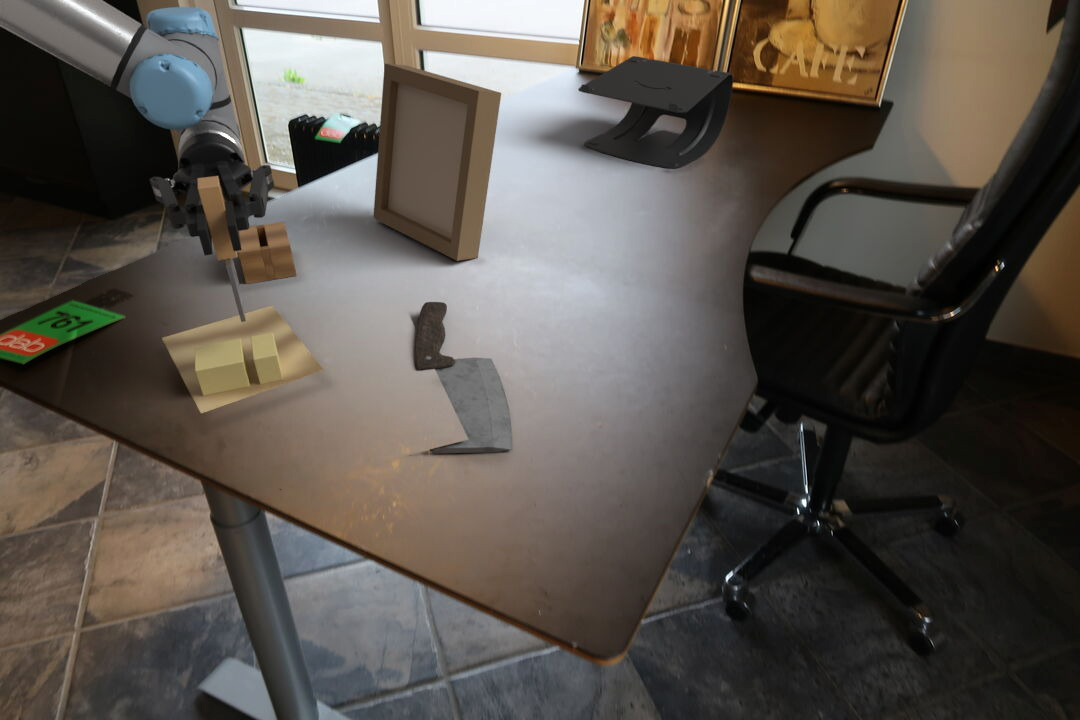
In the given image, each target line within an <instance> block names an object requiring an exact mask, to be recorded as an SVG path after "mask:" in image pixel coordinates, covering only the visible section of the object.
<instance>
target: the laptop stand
mask: <svg viewBox="0 0 1080 720" xmlns="http://www.w3.org/2000/svg"><path fill="white" fill-rule="evenodd" d="M733 86H734V75H733V73H731V72H727V71H720V70H714V71H713V69H710V68H704V67H699V66H692V65H688V64H687V65H686V64H681V63H675V62H671V61H664V60H659V59H654V58H653V59H652V58H650V59H649V58H646V57H641V56H636V55H633V56H630V57H629V58H626V59H625V60H624V61H622V62H620V63H619V64H617V65H615V66H614V67H612V68H610V69H609V70H607V71H605V72H604V73H602V74H600V75H598V76H596V77H595V78H593V79H592V80H590V81H588V82H587V83H584V84H581V86H579V88H578V92H581V93H584V94H589V95H593V96H599V97H603V98H609V99H613V100H617V101H621V102H626V103H631V104H630V106H629V109H628V110H627V113H626V114H625V115H624V117H622V119H621V120H620V121H619V122H618V123H617V124H615V126H613V127H612V128H610V129H609V130H607V131H606V132H604V133H601V134H599V135H597V136H595V137H592V138H590V139H587V140H586V141H585V142H584V143H583V144H584V146H585V147H586V148H589V149H590V150H594V151H596V152H600V153H603V154H606V155H609V156H613V157H616V158H620V159H623V160H628V161H632V162H635V163H639V164H644V165H648V166H649V165H650V166H653V167H658V168H664V169H679V168H682V167H685V166H687V165H689V164H691V163H693V162H695V161H696V160H699V159H701V158H702V157H704V156H705V154H706V153H708V151H709V150H710V149H711V148H712V147H713V146H714V144H715V143H716V141H717V140H718V139H719V137H720V134H721V132H722V130H723V127H724V125H725V123H726V120H727V116H728V113H729V108H730V105H731V99H732V93H733ZM662 116H669V117H674V118H679V119H682V120H685V127H684V129H683V130H682V132H681V133H678V132H674V131H669V130H658V131H655V132H653V133H650V134H648V135H646V134H647V133H648V132H649V131H650V130H651V129H652V128H653V126H654V125H655V124H656V123H657V121H658V120H659V118H661V117H662Z"/></svg>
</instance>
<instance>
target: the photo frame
mask: <svg viewBox="0 0 1080 720" xmlns="http://www.w3.org/2000/svg"><path fill="white" fill-rule="evenodd" d="M381 94H382V95H381V109H380V121H379V135H378V137H379V138H378V147H377V159H376V175H375V191H374V203H373V215H372V216H373V217H372V219H374V220H376V221H377V222H380V223H382V224H384V225H386V226H387V227H390V228H392V229H394V230H396V231H398V232H399V233H402V234H403V235H406V236H408V237H409V238H411V239H413V240H415V241H417V242H419V243H421V244H423V245H425V246H427V247H429V248H430V249H432V250H434V251H437V252H438V253H441V254H443V255H445V256H447V257H449V258H451V259H453V260H455V261H456V262H457V261H465V260H472V259H478V258H479V254H480V253H479V252H480V247H481V246H480V245H481V239H482V233H483V232H482V231H483V226H484V225H483V224H484V217H485V211H486V203H487V196H488V189H489V181H490V175H491V169H492V162H493V155H494V147H495V141H496V135H497V134H496V133H497V126H498V120H499V114H500V113H499V112H500V105H501V98H502V92H501V91H496V90H493V89H490V88H486V87H483V86H479V85H475V84H472V83H468V82H465V81H461V80H458V79H455V78H451V77H447V76H444V75H440V74H437V73H435V72H430V71H427V70H424V69H420V68H416V67H413V66H410V65H403V64H397V63H396V64H393V63H386V62H385V63H384V68H383V80H382V93H381Z"/></svg>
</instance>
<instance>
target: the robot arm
mask: <svg viewBox="0 0 1080 720" xmlns="http://www.w3.org/2000/svg"><path fill="white" fill-rule="evenodd" d="M145 21H146V26H144V25H142V23H141V22H140V21H137V20H136V19H134V18H132V17H131V16H129V15H127V14H125V13H124V12H123V11H121V10H119V9H117V8H116V7H114V6H113V5H111V4H109V3H107V2H106V1H105V0H0V28H2V29H5V30H6V31H8V32H10V33H12V34H13V35H16V36H17V37H18V38H21V39H23V40H24V41H27V43H30V44H31V45H33V46H35V47H37V48H39V49H41V50H43V51H45V52H46V53H48V54H50V55H52V56H54V57H55V58H56V59H59V60H61V61H63V62H65V64H68V65H70V66H72V67H74V68H75V69H77V70H79V71H80V72H83V73H85V74H86V75H88V76H90V77H92V78H94V79H95V80H97V81H99V82H101V83H103V84H104V85H107V86H108V87H110V88H111V89H114V90H116V91H117V92H119V93H121V94H123V95H125V96H126V97H128V98H129V99H131V100H132V102H133V104H134V106H135V107H136V109H137V110H138V112H139V113H140V114H141V115H142V116H143V117H144V118H145V119H146V120H147V121H149V122H150V123H152V124H153V125H155V126H157V127H160V128H162V129H165V130H172V131H176V134H177V140H178V150H177V152H178V153H177V155H178V156H177V172H175V173H174V174H173V176H172V179H171V178H169V177H167V178H163V177H161V176H153V177H151V178H149V182H150V185H151V189H152V191H153V195H154V197H155V201H157V202H159V203H160V204H162V205H163V206H164V208H165V211H166V214H167V217H168V219H169V222H170V224H171V225H170V226H171V227H172V228H173V229H176V230H178V229H182V228H184V227H185V225H186V227H187V230H188V234H189V236H190V237H191V238H195V237H198V238H199V241H200V244H201V249H202V252H203V255H204V256H212V255H214V252H213V242H212V238H211V234H210V230H209V227H208V223H207V220H206V216H205V213H204V209H203V206H202V202H201V199H200V195H199V191H198V183H197V178H204V177H212V176H218V178H219V182H220V185H221V189H222V193H223V197H224V201H225V212H226V220H227V227H228V231H229V235H230V239H231V243H232V247H233V250H234V251H237V252H238V251H240V250H242V249H241V242H240V236H239V231H241V230H248V229H249V228H250V221H249V218H250V217H254V218H256V219H262V218H264V217H266V214H267V213H266V212H267V206H268V205H267V204H268V199H269V192H270V191H272V189H274V187H275V186H276V185H275V181H274V177H273V171H272V166H271V165H270V164H263V165H260V166H259V167H258V168H253V169H252V168H251V167H250V166H249V165H248V164H247V163H246V159H245V155H244V150H243V147H242V143H241V132H240V131H241V130H240V127H239V123H238V120H237V118H236V114H235V110H234V106H233V100H232V98H231V94H230V90H229V85H228V81H227V76H226V72H225V67H224V63H223V58H222V54H221V48H220V45H219V41H220V39H219V36H218V35H217V32H216V29H215V24H214V22H213V18H212V16H211V14H210V13H209V12H208V11H207V10H205V9H204V8H201V7H194V6H176V7H174V6H173V7H172V6H171V7H164V8H163V7H162V8H158V9H157V8H156V9H153V10H151V11H149V12H148V13H147V14H146V16H145ZM249 185H250V187H249V194H248V198H246V199H245V198H244V195H243V191H242V190H243V189H245V188H246V187H247V186H249ZM178 192H179V193H182V194H185V195H187V196H186V199H185V203H184V206H180V205H179V202H178V200H177V196H176V194H177V193H178Z"/></svg>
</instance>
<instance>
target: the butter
mask: <svg viewBox="0 0 1080 720" xmlns="http://www.w3.org/2000/svg"><path fill="white" fill-rule="evenodd" d="M195 372H196V375H197V378H198V381H199V384H200V387H201V390H202V393H203V396H206V395H210V394H215V393H220V392H225V391H230V390H235V389H240V388H244V387H249V386H250V383H249V374H248V365H247V360H246V356H245V353H244V349H243V346H242V342H241V339H236V340H230V341H225V342H220V343H214V344H209V345H203V346H198V347H195Z"/></svg>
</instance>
